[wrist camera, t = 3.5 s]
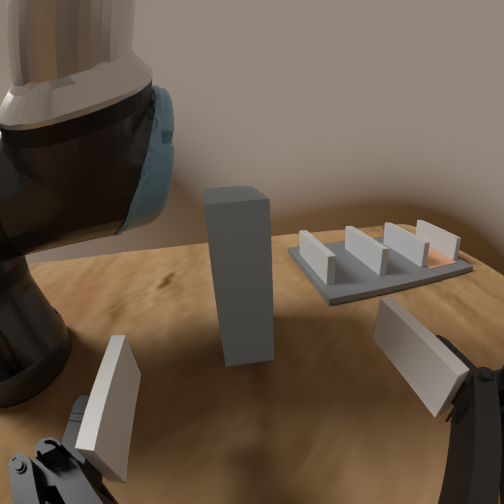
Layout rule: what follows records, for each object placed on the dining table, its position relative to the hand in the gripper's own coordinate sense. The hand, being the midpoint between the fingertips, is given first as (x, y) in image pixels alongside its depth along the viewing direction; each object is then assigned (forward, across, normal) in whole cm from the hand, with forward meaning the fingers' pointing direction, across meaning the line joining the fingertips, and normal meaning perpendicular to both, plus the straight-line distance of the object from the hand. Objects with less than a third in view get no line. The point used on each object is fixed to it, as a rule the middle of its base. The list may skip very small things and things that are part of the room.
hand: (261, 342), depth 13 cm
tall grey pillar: (+10, 0, -7) cm, 12 cm away
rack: (+21, +22, -7) cm, 31 cm away
